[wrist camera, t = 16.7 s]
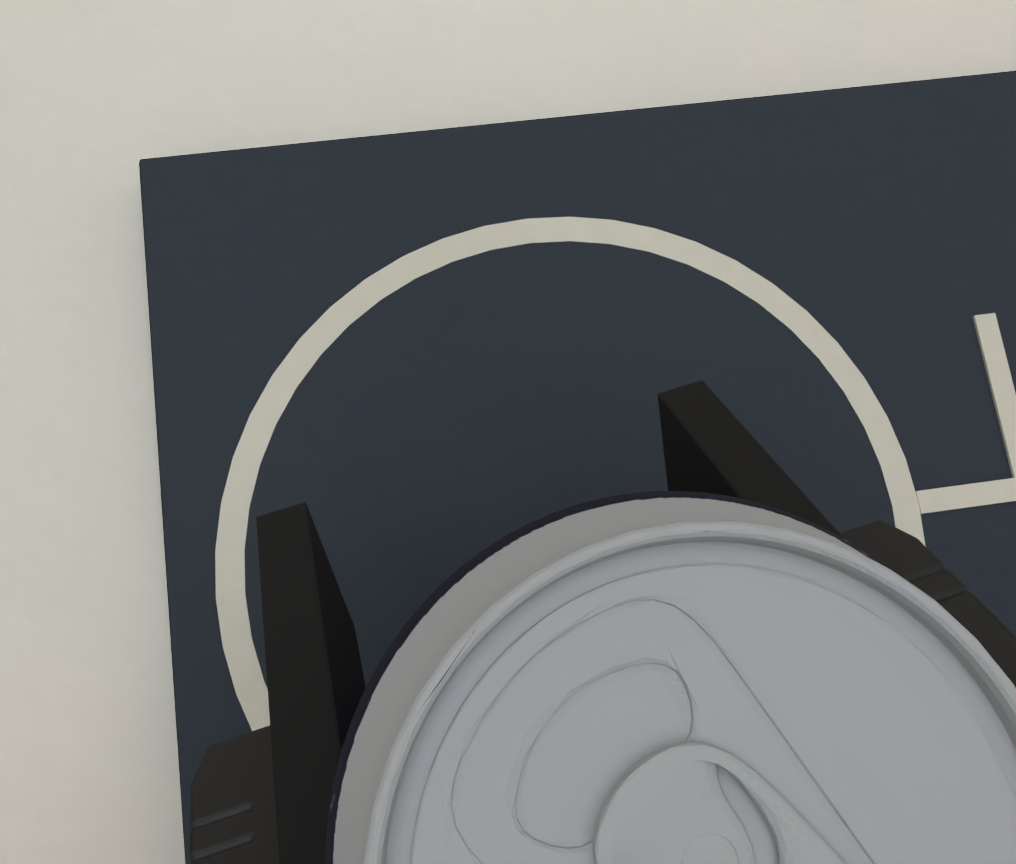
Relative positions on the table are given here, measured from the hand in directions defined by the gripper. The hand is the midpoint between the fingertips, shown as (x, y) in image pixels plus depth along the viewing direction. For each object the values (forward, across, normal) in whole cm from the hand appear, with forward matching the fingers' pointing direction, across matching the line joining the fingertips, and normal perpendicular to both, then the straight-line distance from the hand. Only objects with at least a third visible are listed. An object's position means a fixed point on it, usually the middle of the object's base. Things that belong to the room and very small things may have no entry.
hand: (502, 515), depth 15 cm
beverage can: (0, 0, -5) cm, 5 cm away
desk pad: (+3, +5, -5) cm, 8 cm away
